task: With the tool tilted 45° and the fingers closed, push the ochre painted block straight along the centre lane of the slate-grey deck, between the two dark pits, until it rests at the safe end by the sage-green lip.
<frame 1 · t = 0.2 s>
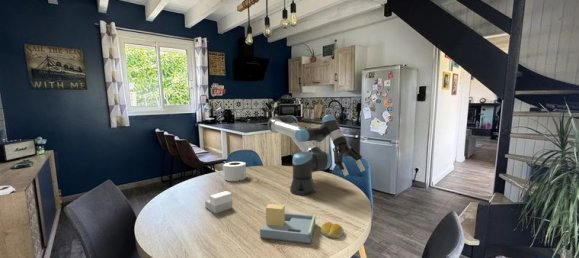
hand: (355, 173, 131), 15 cm above the table, tool tilted 35°, fingers open, 13 cm apart
foam block: (211, 209, 125), on the table
bread roll: (332, 233, 100), on the table
roll of tape: (235, 178, 176), on the table
ochre block: (275, 223, 103), point 2 cm above the table, touching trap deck
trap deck: (289, 230, 102), on the table
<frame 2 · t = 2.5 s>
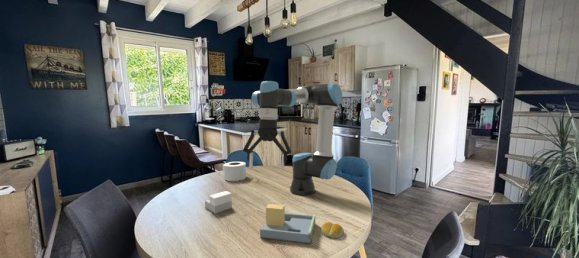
hand: (266, 169, 102), 26 cm above the table, tool pointing down, fingers open, 13 cm apart
nothing on the table moved.
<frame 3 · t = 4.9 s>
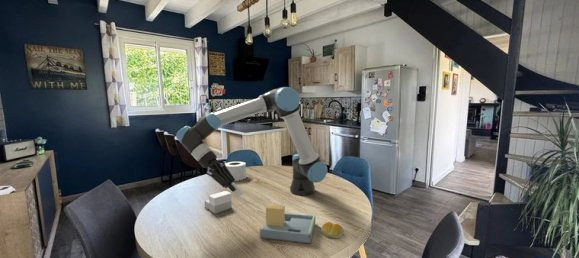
hand: (240, 195, 105), 14 cm above the table, tool tilted 45°, fingers closed
nothing on the table moved.
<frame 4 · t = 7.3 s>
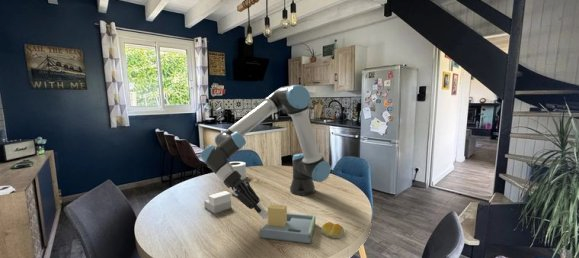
hand: (266, 216, 103), 5 cm above the table, tool tilted 45°, fingers closed
ochre block: (277, 223, 103), point 3 cm above the table, touching gripper
everything else where it was.
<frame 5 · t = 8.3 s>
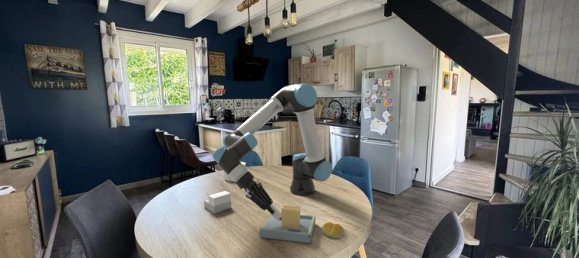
hand: (279, 217, 102), 5 cm above the table, tool tilted 45°, fingers closed
ochre block: (291, 225, 101), point 3 cm above the table, touching gripper
everything else where it was.
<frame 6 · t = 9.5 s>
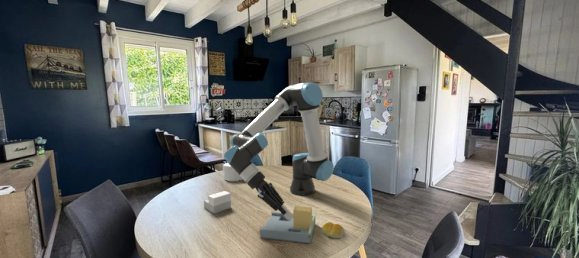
hand: (291, 218, 101), 6 cm above the table, tool tilted 45°, fingers closed
ochre block: (302, 226, 100), point 3 cm above the table, touching gripper, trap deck
everything else where it was.
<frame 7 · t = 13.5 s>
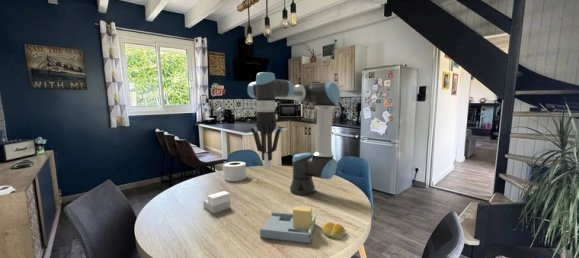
hand: (267, 167, 101), 26 cm above the table, tool pointing down, fingers closed
ochre block: (302, 226, 101), point 2 cm above the table, touching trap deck
at the end: ochre block inside the target area on the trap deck (0.4 cm from its centre), point 2.5 cm above the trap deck's base; ochre block tilted 0° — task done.
